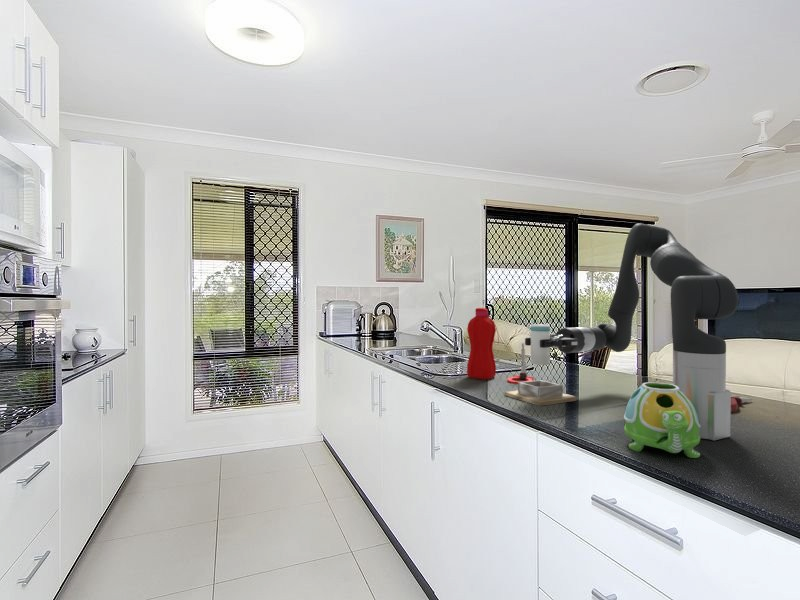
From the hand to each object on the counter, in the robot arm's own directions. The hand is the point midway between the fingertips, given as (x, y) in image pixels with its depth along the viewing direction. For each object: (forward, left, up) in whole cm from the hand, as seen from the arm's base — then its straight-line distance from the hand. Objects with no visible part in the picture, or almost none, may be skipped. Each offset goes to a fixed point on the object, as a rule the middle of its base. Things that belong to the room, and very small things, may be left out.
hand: (533, 342), depth 122 cm
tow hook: (+21, -14, -16) cm, 30 cm away
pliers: (-29, -41, -17) cm, 53 cm away
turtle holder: (-42, +9, -16) cm, 46 cm away
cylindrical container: (0, -3, -6) cm, 7 cm away
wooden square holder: (0, -2, -16) cm, 16 cm away
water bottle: (+32, -7, -16) cm, 37 cm away
